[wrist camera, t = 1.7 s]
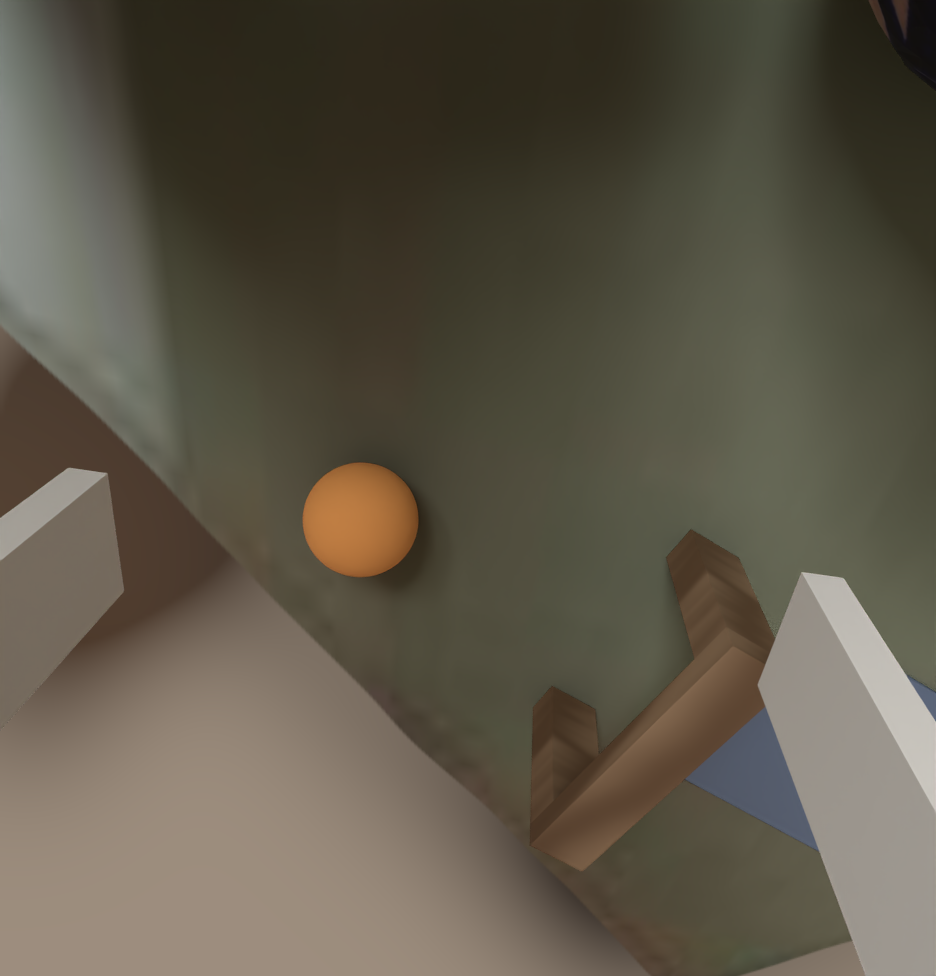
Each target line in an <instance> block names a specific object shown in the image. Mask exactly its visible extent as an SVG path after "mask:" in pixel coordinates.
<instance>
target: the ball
mask: <svg viewBox="0 0 936 976" xmlns="http://www.w3.org/2000/svg"><path fill="white" fill-rule="evenodd" d="M418 521H419V519H418V509H417V504H416V501H415V499H414V496H413V494H412V492H411V490H410V489H409V487H408V486H407V485H406V483H405V482H404V481H403V480H402V479H401V478H400V477H399V476H397V475H396V474H395V473H393V472H392V471H390V470H389V469H387V468H385V467H382V466H379V465H376V464H372V463H350V464H346V465H343V466H340V467H337V468H335V469H333V470H332V471H330V472H328V473H327V474H326V475H324V476H323V477H322V478H321V479H320V480H319V481H318V482H317V483H316V484H315V485H314V487H313V488H312V490H311V491H310V493H309V496H308V498H307V500H306V503H305V506H304V511H303V529H304V534H305V537H306V540H307V543H308V545H309V547H310V549H311V550H312V552H313V553H314V555H315V556H316V557H317V558H318V559H319V560H320V561H321V562H322V563H323V564H324V565H325V566H327V567H328V568H330V569H331V570H333V571H335V572H337V573H340V574H343V575H347V576H352V577H369V576H374V575H377V574H380V573H383V572H385V571H387V570H389V569H391V568H392V567H394V566H395V565H396V564H398V563H399V562H400V561H401V560H402V559H403V558H404V557H405V556H406V554H407V553H408V552H409V550H410V548H411V547H412V545H413V543H414V540H415V538H416V534H417V530H418Z"/></svg>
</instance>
